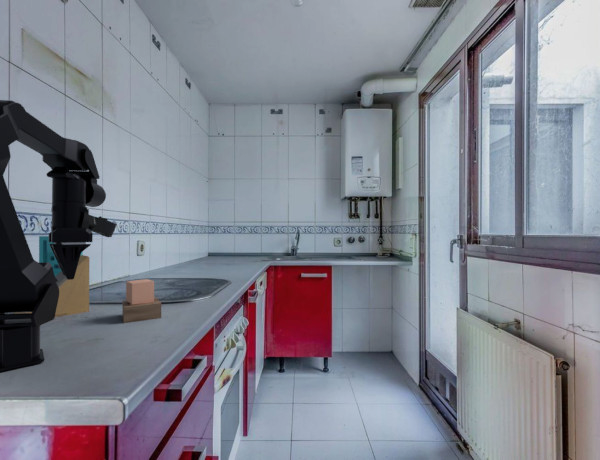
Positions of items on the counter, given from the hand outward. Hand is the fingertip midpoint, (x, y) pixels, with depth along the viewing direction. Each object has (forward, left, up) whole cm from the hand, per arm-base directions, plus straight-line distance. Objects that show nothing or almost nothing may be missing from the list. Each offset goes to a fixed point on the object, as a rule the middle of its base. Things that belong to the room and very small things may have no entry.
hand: (68, 277), depth 65 cm
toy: (+35, -2, -12) cm, 37 cm away
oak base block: (+4, -15, -12) cm, 20 cm away
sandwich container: (+22, +2, -12) cm, 25 cm away
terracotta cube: (+4, -15, -8) cm, 17 cm away
